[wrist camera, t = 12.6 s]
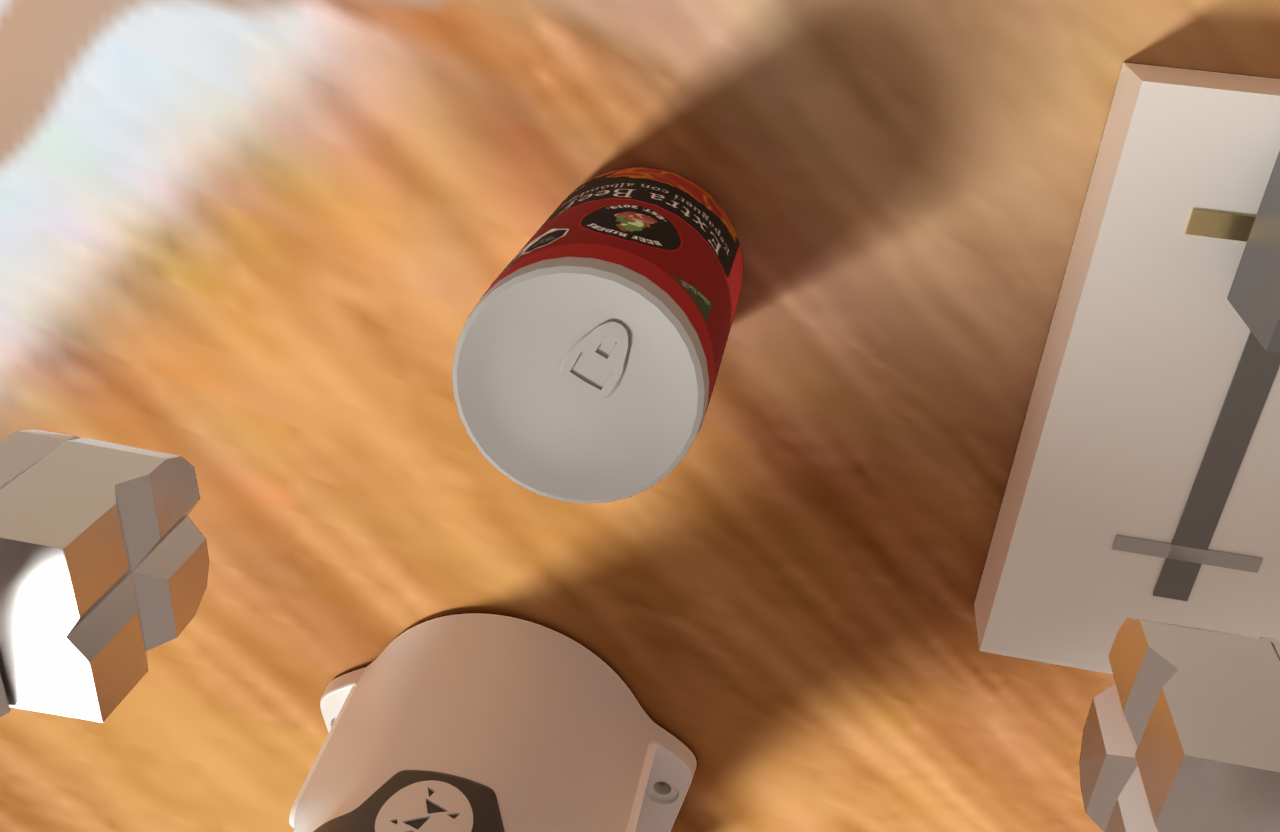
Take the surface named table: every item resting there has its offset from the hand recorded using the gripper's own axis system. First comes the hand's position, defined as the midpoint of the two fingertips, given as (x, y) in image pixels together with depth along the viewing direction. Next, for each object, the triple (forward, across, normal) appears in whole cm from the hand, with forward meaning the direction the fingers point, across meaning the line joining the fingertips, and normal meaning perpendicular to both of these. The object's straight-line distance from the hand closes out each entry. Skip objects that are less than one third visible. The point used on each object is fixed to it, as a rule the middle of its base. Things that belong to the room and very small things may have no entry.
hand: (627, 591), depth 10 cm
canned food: (+31, -5, -9) cm, 33 cm away
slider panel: (+31, +16, -11) cm, 37 cm away
